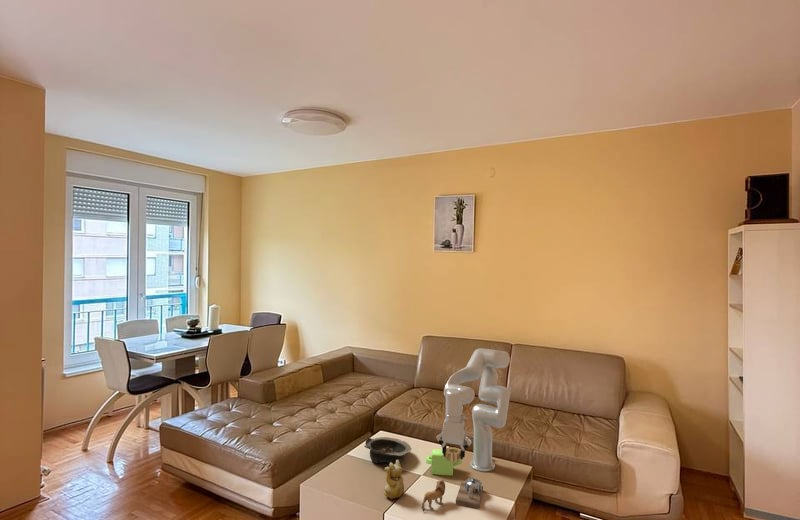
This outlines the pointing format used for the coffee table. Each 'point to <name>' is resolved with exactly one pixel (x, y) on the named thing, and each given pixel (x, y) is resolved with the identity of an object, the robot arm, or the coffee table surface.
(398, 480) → the decorative figurine
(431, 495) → the lion figurine
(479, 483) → the grey gear
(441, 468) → the green square teapot
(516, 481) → the coffee table surface
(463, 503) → the gear board
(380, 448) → the stone bowl
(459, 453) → the brass gear
